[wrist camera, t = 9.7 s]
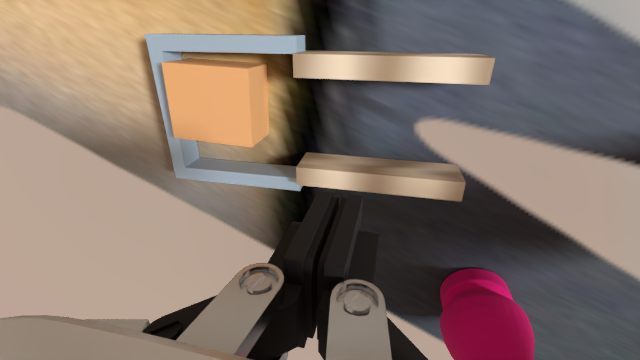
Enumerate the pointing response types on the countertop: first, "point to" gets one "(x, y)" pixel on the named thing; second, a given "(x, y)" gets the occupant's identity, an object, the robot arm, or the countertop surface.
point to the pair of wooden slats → (379, 171)
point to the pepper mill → (483, 318)
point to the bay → (187, 150)
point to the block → (217, 100)
